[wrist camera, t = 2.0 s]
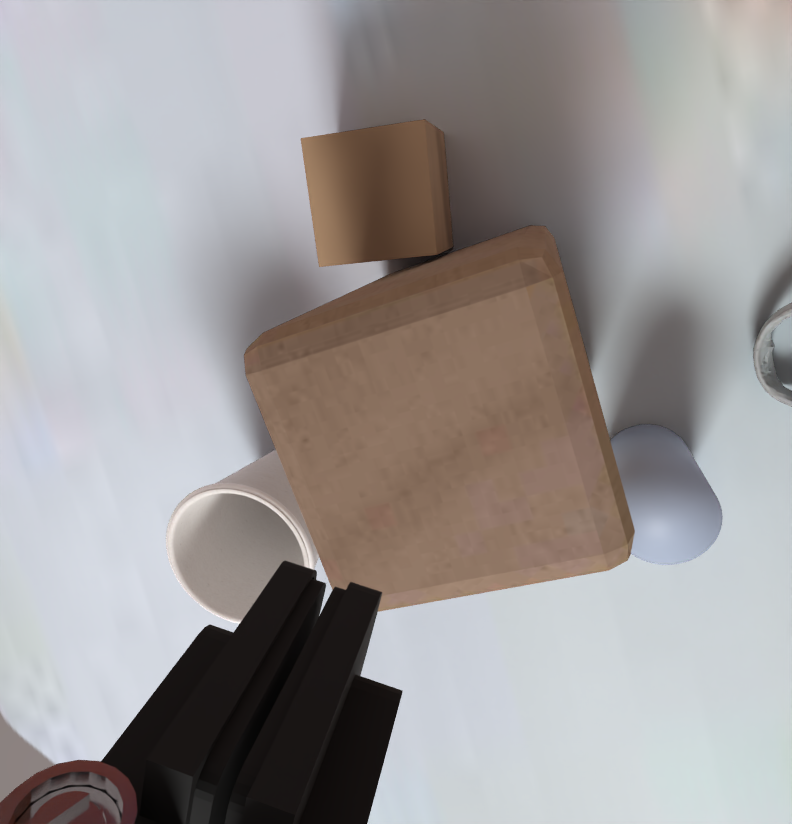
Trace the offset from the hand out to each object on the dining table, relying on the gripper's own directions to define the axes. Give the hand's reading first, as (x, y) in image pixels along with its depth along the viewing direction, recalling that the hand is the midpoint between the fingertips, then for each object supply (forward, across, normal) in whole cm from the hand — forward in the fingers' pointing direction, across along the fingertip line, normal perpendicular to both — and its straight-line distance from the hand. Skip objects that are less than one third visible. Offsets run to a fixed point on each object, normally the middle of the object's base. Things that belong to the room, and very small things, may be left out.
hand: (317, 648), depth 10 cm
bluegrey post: (+29, -12, +5) cm, 32 cm away
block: (+29, -1, 0) cm, 29 cm away
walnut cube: (+29, +6, -6) cm, 30 cm away
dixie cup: (+29, +8, +13) cm, 33 cm away
